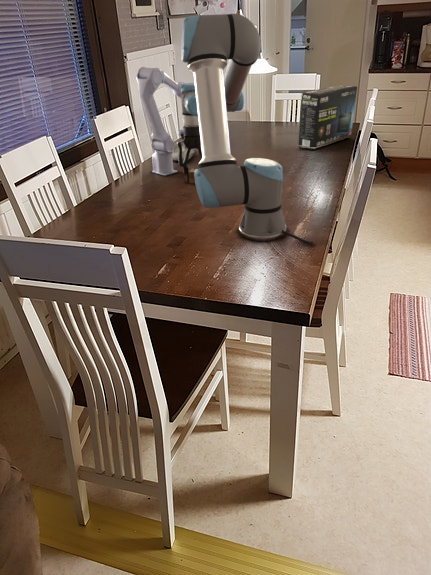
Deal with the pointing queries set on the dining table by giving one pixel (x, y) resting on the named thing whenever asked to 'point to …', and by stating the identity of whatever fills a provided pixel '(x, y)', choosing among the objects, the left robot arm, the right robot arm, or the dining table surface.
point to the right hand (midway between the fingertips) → (195, 180)
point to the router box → (326, 115)
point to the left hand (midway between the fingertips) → (194, 149)
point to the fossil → (175, 153)
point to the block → (191, 176)
